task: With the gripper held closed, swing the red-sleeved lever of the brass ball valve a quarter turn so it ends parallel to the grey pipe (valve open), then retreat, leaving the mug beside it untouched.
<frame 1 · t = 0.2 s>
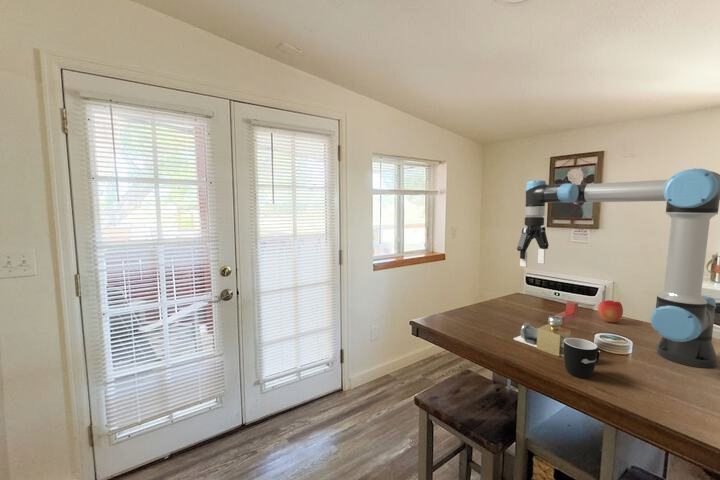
hand: (532, 264, 146), 28 cm above the table, fingers open, 13 cm apart
board: (554, 345, 128), on the table
lever: (563, 313, 127), point 13 cm above the table, hinge at -90.0°
apple: (609, 322, 153), on the table
mug: (582, 373, 107), on the table
valve: (552, 349, 124), resting on board
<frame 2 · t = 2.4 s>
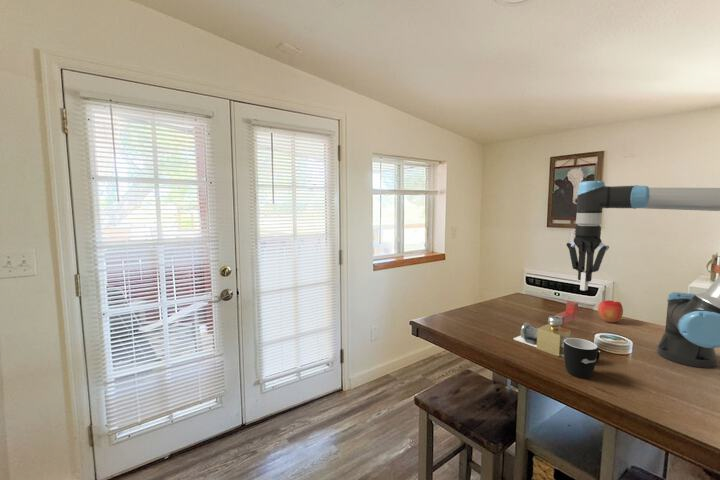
hand: (583, 289, 120), 23 cm above the table, fingers closed
nothing on the table moved.
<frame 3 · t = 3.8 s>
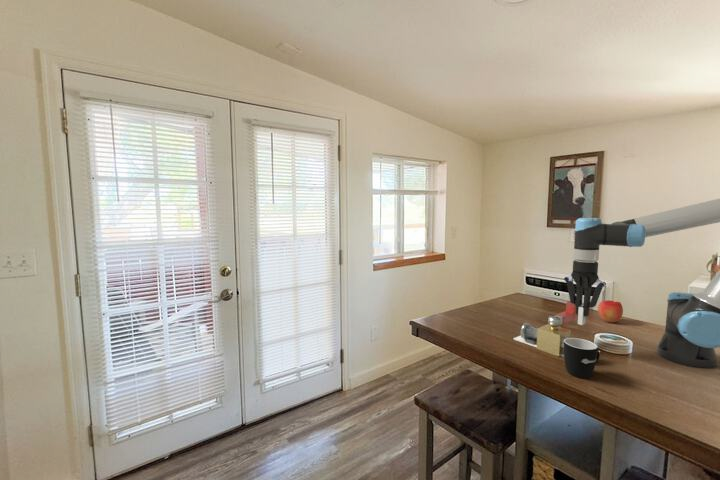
hand: (581, 323, 122), 10 cm above the table, fingers closed
nothing on the table moved.
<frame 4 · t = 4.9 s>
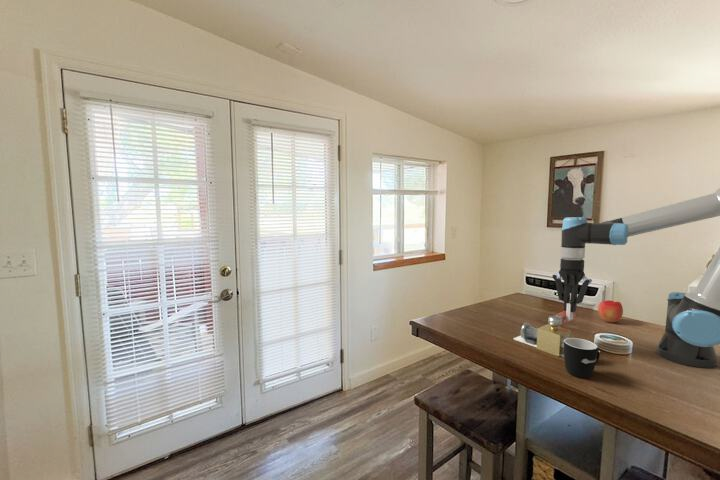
hand: (569, 319, 126), 11 cm above the table, fingers closed
lever: (562, 313, 127), point 13 cm above the table, hinge at -87.9°, touching gripper
everything else where it was.
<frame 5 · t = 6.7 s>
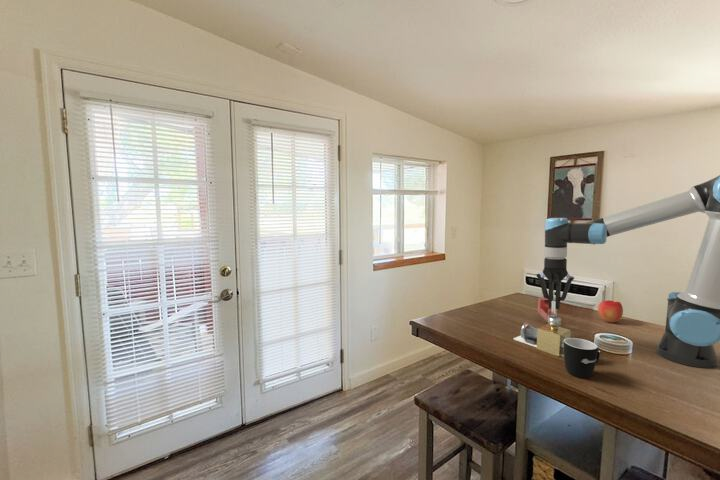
hand: (554, 316, 131), 10 cm above the table, fingers closed
lever: (548, 311, 129), point 13 cm above the table, hinge at -46.5°, touching gripper
everything else where it was.
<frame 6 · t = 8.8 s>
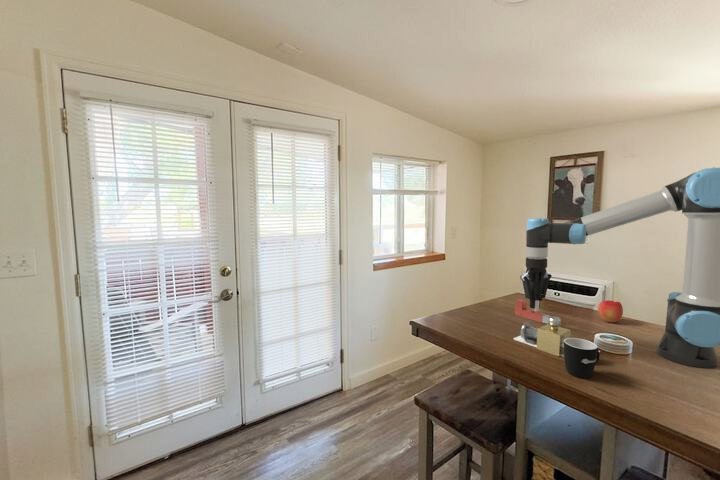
hand: (534, 315, 132), 10 cm above the table, fingers closed
lever: (537, 312, 128), point 13 cm above the table, hinge at -2.7°, touching gripper
everything else where it was.
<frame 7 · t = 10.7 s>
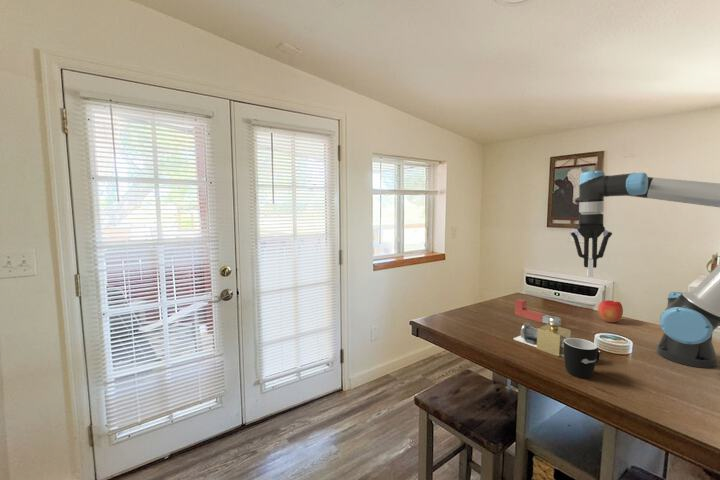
hand: (589, 276, 125), 27 cm above the table, fingers closed
lever: (537, 312, 128), point 13 cm above the table, hinge at -2.7°
everything else where it was.
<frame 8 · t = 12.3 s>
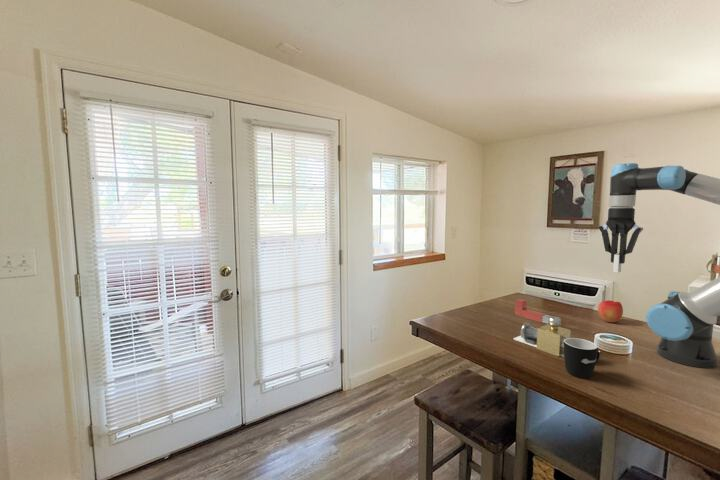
hand: (616, 271, 122), 29 cm above the table, fingers closed
nothing on the table moved.
at the end: lever at -3° (first picture: -90°) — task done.
